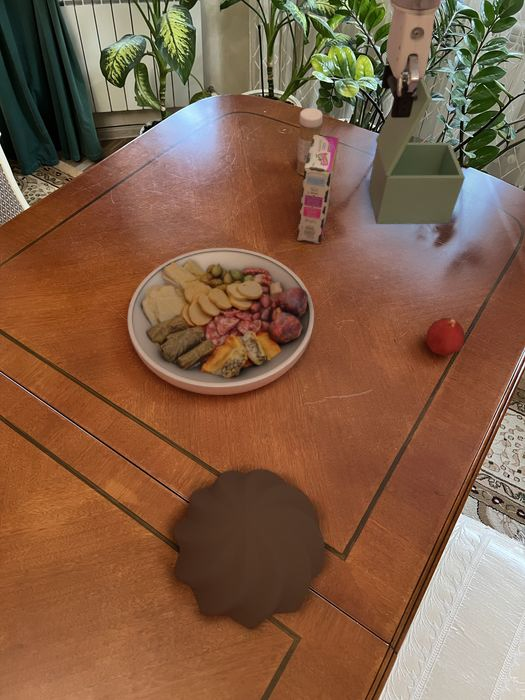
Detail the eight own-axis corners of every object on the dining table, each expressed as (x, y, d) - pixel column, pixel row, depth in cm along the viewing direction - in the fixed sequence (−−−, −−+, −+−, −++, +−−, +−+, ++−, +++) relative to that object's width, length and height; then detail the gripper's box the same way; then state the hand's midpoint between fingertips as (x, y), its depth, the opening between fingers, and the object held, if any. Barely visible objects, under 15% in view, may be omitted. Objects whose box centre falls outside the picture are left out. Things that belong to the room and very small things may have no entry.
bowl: (134, 416, 86) (125, 386, 79) (130, 276, 104) (123, 242, 98) (329, 392, 89) (335, 362, 83) (293, 260, 107) (295, 227, 101)
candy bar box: (321, 245, 110) (331, 172, 97) (296, 241, 110) (302, 168, 97) (329, 209, 117) (340, 136, 104) (305, 205, 117) (312, 132, 104)
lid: (418, 65, 101) (390, 56, 100) (432, 99, 94) (402, 90, 92) (379, 140, 112) (354, 134, 111) (389, 176, 105) (362, 169, 104)
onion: (419, 336, 96) (431, 304, 90) (453, 338, 96) (467, 306, 90) (424, 364, 93) (436, 333, 86) (459, 365, 93) (475, 334, 86)
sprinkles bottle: (317, 166, 126) (324, 108, 115) (315, 178, 123) (321, 120, 112) (297, 163, 126) (301, 105, 116) (294, 175, 123) (298, 117, 113)
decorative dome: (166, 629, 68) (155, 607, 60) (180, 474, 80) (172, 439, 72) (328, 629, 68) (339, 607, 60) (318, 475, 80) (325, 440, 72)
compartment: (436, 188, 122) (450, 142, 113) (448, 223, 115) (465, 177, 106) (368, 188, 121) (377, 142, 113) (376, 224, 114) (387, 177, 106)
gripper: (454, 17, 81) (426, 128, 95) (428, -29, 92) (406, 77, 105) (402, 18, 81) (381, 129, 95) (382, -28, 92) (366, 77, 105)
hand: (394, 101), depth 100 cm, fingers open, 9 cm apart
